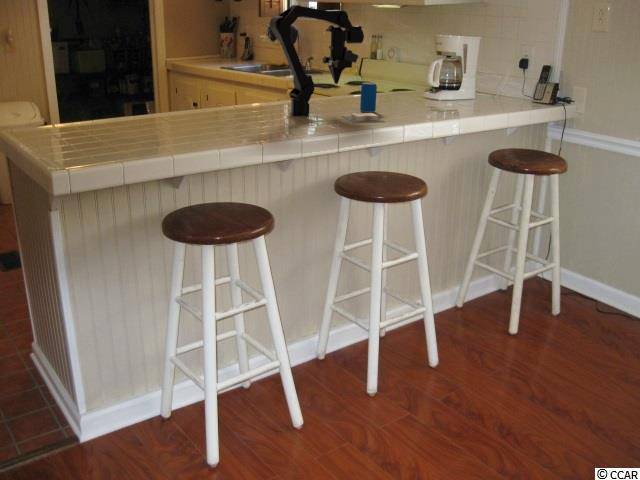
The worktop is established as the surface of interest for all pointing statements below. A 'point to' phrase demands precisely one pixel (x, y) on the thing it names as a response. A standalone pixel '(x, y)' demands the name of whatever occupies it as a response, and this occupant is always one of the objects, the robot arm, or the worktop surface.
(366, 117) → the rectangular block
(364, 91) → the beverage can
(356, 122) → the mat
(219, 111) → the worktop surface
